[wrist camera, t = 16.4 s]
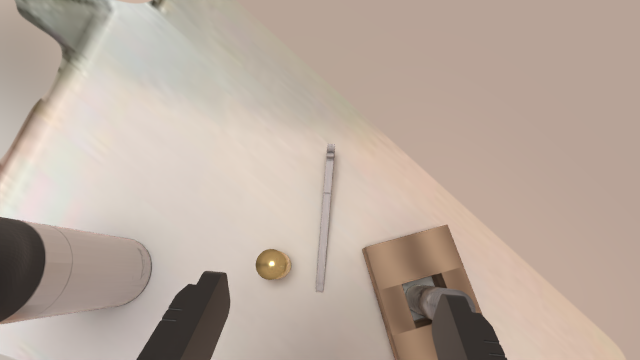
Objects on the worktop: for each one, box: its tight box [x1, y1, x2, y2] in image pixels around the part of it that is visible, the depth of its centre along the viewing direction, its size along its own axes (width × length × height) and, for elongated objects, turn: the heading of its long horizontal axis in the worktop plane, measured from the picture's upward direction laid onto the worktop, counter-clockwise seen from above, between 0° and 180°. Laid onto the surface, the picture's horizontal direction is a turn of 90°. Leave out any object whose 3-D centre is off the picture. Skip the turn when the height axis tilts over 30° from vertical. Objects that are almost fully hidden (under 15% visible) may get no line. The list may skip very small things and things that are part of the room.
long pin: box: [406, 285, 476, 320], centre depth 36 cm, size 4×4×13 cm
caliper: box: [316, 144, 335, 292], centre depth 43 cm, size 20×1×6 cm, turn 175°
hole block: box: [362, 225, 482, 360], centre depth 40 cm, size 11×16×4 cm
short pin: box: [256, 249, 291, 280], centre depth 41 cm, size 4×4×6 cm
